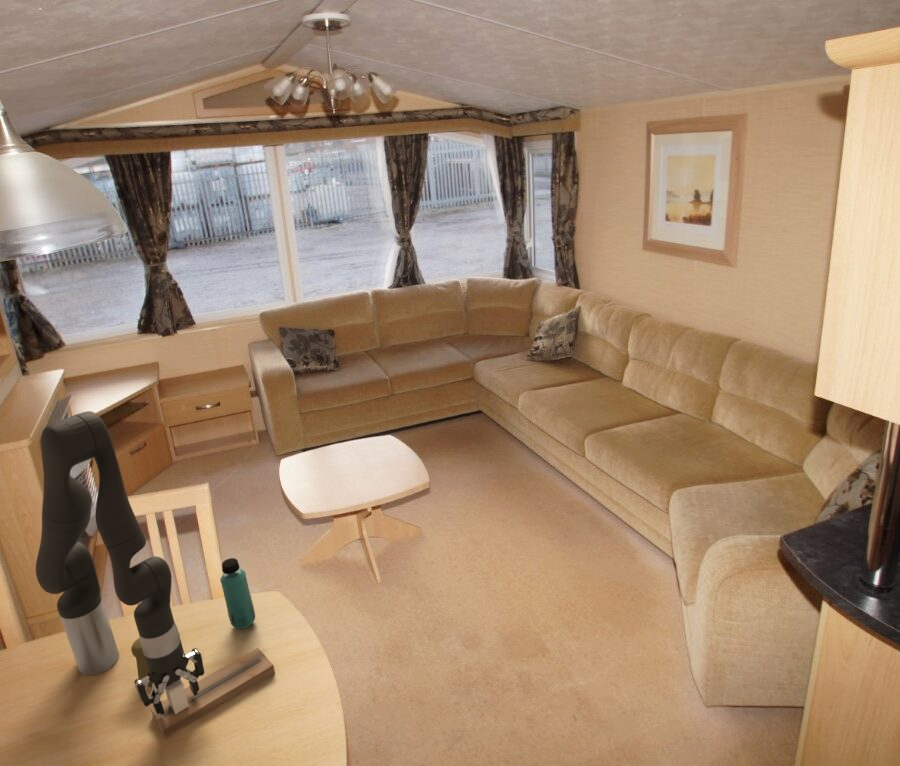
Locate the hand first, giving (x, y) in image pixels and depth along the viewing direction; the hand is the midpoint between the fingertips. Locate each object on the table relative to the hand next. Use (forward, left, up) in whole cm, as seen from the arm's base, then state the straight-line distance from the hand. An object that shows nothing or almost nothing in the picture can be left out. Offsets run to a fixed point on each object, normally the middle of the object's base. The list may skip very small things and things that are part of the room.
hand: (178, 702), depth 152 cm
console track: (0, +8, -4) cm, 9 cm away
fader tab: (0, 0, -1) cm, 1 cm away
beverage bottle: (-17, +23, -4) cm, 29 cm away
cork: (-16, -1, -4) cm, 16 cm away
